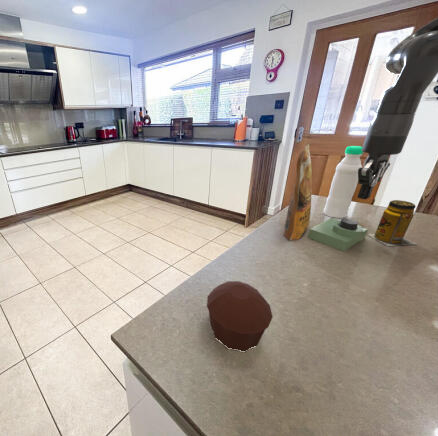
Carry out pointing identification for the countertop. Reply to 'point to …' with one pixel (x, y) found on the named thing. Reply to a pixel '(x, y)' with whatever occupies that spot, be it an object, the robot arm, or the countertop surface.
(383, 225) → the condiment
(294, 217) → the pancake mix bag
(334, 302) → the countertop surface
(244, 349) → the muffin
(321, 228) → the dispenser base
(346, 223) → the pump top
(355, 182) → the water bottle
